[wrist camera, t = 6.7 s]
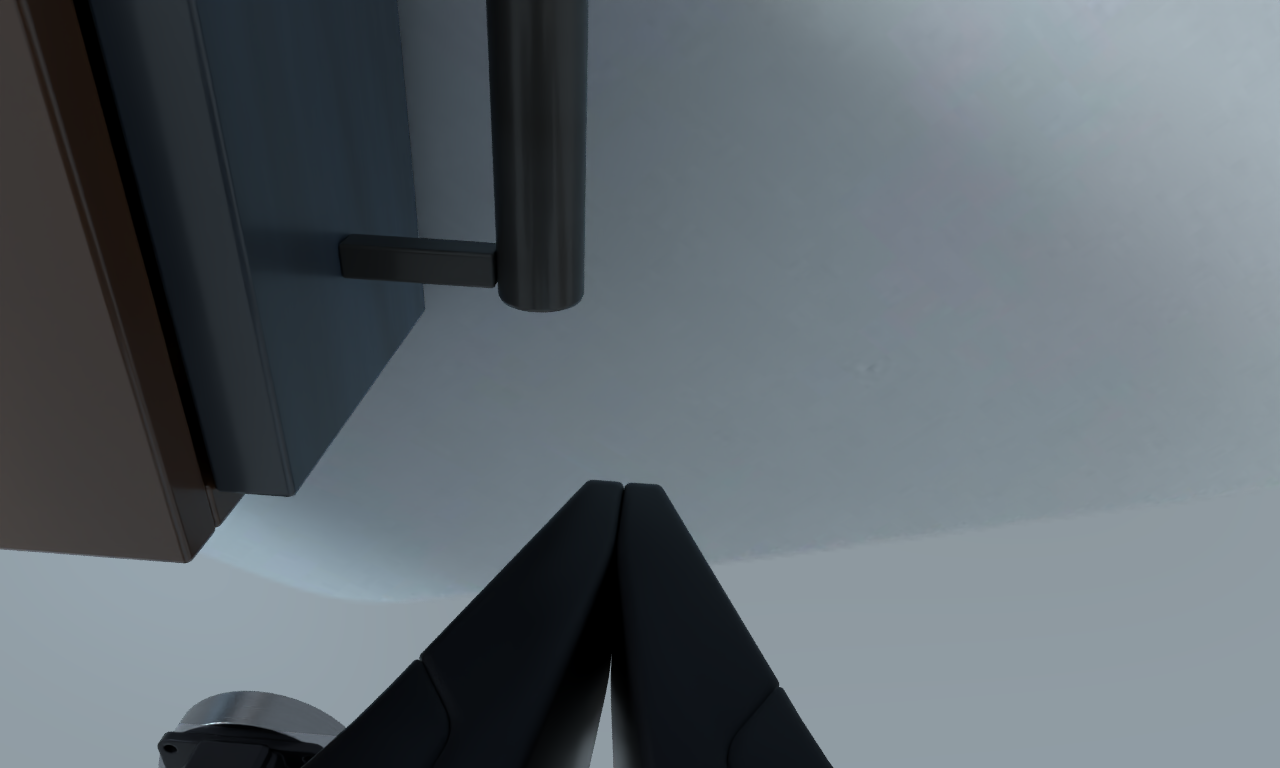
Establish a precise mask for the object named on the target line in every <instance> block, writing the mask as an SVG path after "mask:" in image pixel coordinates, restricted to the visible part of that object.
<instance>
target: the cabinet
mask: <svg viewBox="0 0 1280 768" xmlns="http://www.w3.org/2000/svg"><path fill="white" fill-rule="evenodd" d="M244 495H245V494H244V493H230V492H220V491H218V490H217V489H216V486H215V483H214V479H213V475H212V471H211V467H210V464H209V460H208V456H207V452H206V448H205V445H204V441H203V437H202V433H201V429H200V426H199V422H198V418H197V414H196V410H195V406H194V403H193V399H192V395H191V391H190V387H189V384H188V382H186V383H185V384H184V385H183V386H182V387H181V388H180V389H179V390H178V386H177V382H176V379H175V375H174V371H173V368H172V364H171V360H170V357H169V353H168V349H167V345H166V342H165V338H164V334H163V331H162V327H161V323H160V320H159V316H158V312H157V308H156V305H155V301H154V297H153V294H152V290H151V286H150V283H149V279H148V275H147V272H146V268H145V264H144V260H143V257H142V253H141V249H140V246H139V242H138V238H137V235H136V231H135V227H134V224H133V220H132V216H131V212H130V209H129V205H128V201H127V198H126V194H125V190H124V187H123V183H122V179H121V175H120V172H119V168H118V164H117V161H116V157H115V153H114V150H113V146H112V142H111V139H110V135H109V131H108V127H107V124H106V120H105V116H104V113H103V109H102V105H101V102H100V98H99V94H98V91H97V87H96V83H95V79H94V76H93V72H92V68H91V65H90V61H89V57H88V54H87V50H86V46H85V42H84V39H83V35H82V31H81V28H80V24H79V20H78V17H77V13H76V9H75V6H74V2H73V0H0V549H4V550H17V551H32V552H45V553H57V554H70V555H83V556H96V557H110V558H123V559H137V560H149V561H163V562H175V563H188V562H190V561H191V560H192V559H193V558H194V557H195V556H196V555H197V553H198V552H199V551H200V550H201V548H202V547H203V546H204V545H205V543H206V542H207V541H208V540H209V538H210V537H211V536H212V534H213V533H214V531H215V527H218V526H220V525H221V524H222V523H223V521H224V520H225V519H226V518H227V516H228V515H229V514H230V513H231V511H232V510H233V509H234V508H235V506H236V505H237V504H238V502H239V501H240V500H241V499H242V497H243V496H244Z"/></svg>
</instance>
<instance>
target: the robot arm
mask: <svg viewBox="0 0 1280 768" xmlns="http://www.w3.org/2000/svg"><path fill="white" fill-rule="evenodd" d="M611 656H612V660H611ZM419 659H420V660H414V661H413V662H412V663H411V665H409V666H408V668H407V669H406V670H405V671H404V672H403V673H402V674H401V675H400V676H399V677H398V678H397V679H396V680H395V681H394V682H393V683H392V684H391V685H390V686H389V687H388V688H387V689H386V690H385V691H384V692H383V693H382V694H381V695H380V696H379V697H378V698H377V699H376V700H375V701H374V702H373V703H372V704H371V705H370V706H369V707H368V708H367V709H366V710H365V711H364V712H363V713H362V714H361V715H360V716H359V717H358V718H357V719H356V720H355V721H353V722H352V723H351V724H350V725H349V726H348V727H347V728H345V729H344V730H343V731H342V732H341V733H340V734H339V735H338V736H336V737H335V738H334V739H333V740H332V741H331V742H330V743H328V744H327V745H326V746H325V747H324V748H323V747H322V746H321V745H318V744H315V743H307V742H295V741H283V740H270V739H258V738H246V737H233V736H221V735H209V734H196V733H184V732H167V733H165V734H164V736H163V737H162V739H161V740H160V742H159V743H158V750H159V752H160V755H161V758H162V760H163V763H164V765H165V768H589V766H590V762H591V757H592V753H593V749H594V744H595V740H596V735H597V731H598V726H599V722H600V717H601V713H602V708H603V703H604V699H605V694H606V689H607V684H608V678H609V671H610V663H611V712H612V739H613V765H614V768H833V767H832V765H831V764H830V762H829V761H828V760H827V758H826V757H825V755H824V754H823V752H822V750H821V749H820V747H819V746H818V744H817V743H816V741H815V740H814V738H813V736H812V735H811V733H810V732H809V730H808V729H807V727H806V726H805V724H804V723H803V721H802V720H801V718H800V716H799V715H798V713H797V711H796V709H795V708H794V706H793V704H792V703H791V701H790V699H789V698H788V696H787V694H786V693H785V691H784V690H783V688H781V687H779V682H778V680H777V678H776V677H775V675H774V673H773V672H772V670H771V668H770V667H769V665H768V663H767V662H766V660H765V659H764V657H763V655H762V653H761V651H760V650H759V648H758V646H757V645H756V644H755V641H754V640H753V638H752V637H751V635H750V633H749V631H748V630H747V628H746V627H745V625H744V623H743V621H742V620H741V618H740V616H739V615H738V613H737V611H736V610H735V608H734V606H733V605H732V603H731V601H730V600H729V598H728V596H727V595H726V593H725V592H724V590H723V588H722V586H721V585H720V583H719V581H718V580H717V578H716V576H715V575H714V573H713V571H712V570H711V568H710V566H709V565H708V563H707V561H706V560H705V558H704V556H703V555H702V553H701V551H700V550H699V548H698V546H697V545H696V543H695V541H694V540H693V538H692V536H691V535H690V533H689V531H688V530H687V528H686V526H685V525H684V523H683V521H682V519H681V518H680V516H679V514H678V513H677V511H676V509H675V508H674V506H673V504H672V503H671V501H670V499H669V498H668V496H667V494H666V493H665V491H664V490H663V488H662V487H661V486H660V485H657V484H643V483H628V484H627V485H626V486H625V488H624V486H623V484H622V483H620V482H615V481H601V480H590V481H587V482H586V483H585V484H584V485H583V486H582V487H581V488H580V489H579V490H578V491H577V492H576V493H575V494H574V495H573V496H572V497H571V498H570V499H569V501H568V502H567V503H566V504H565V505H564V506H563V507H562V508H561V509H560V510H559V511H558V512H557V513H556V514H555V515H554V516H553V517H552V518H551V519H550V520H549V521H548V522H547V523H546V524H545V525H544V527H543V528H542V529H541V530H540V531H539V532H538V533H537V534H536V535H535V536H534V537H533V538H532V539H531V540H530V541H529V542H528V543H527V544H526V545H525V546H524V547H523V548H522V549H521V550H520V552H519V553H518V554H517V555H516V556H515V557H514V558H513V559H512V560H511V561H510V562H509V563H508V564H507V565H506V566H505V567H504V568H503V569H502V570H501V571H500V572H499V573H498V574H497V575H496V576H495V578H494V579H493V580H492V581H491V582H490V583H489V584H488V585H487V586H486V587H485V588H484V589H483V590H482V591H481V592H480V593H479V594H478V595H477V596H476V597H475V598H474V599H473V600H472V601H471V603H470V604H469V605H468V606H467V607H466V608H465V609H464V610H463V611H462V612H461V613H460V614H459V615H458V616H457V617H456V618H455V619H454V620H453V621H452V622H451V623H450V624H449V626H447V628H446V629H445V630H444V631H443V632H442V633H441V634H440V635H439V636H438V637H437V638H436V639H435V640H434V641H433V642H432V643H431V644H430V645H429V646H428V647H427V648H426V649H425V651H423V653H421V655H420V657H419Z"/></svg>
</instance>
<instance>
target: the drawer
mask: <svg viewBox="0 0 1280 768" xmlns="http://www.w3.org/2000/svg"><path fill="white" fill-rule="evenodd" d="M73 2H74V6H75V9H76V13H77V17H78V20H79V24H80V28H81V31H82V35H83V39H84V42H85V46H86V50H87V54H88V57H89V61H90V65H91V68H92V72H93V76H94V79H95V83H96V87H97V91H98V94H99V98H100V102H101V105H102V109H103V113H104V116H105V120H106V124H107V127H108V131H109V135H110V139H111V142H112V146H113V150H114V153H115V157H116V161H117V164H118V168H119V172H120V175H121V179H122V183H123V187H124V190H125V194H126V198H127V201H128V205H129V209H130V212H131V216H132V220H133V224H134V227H135V231H136V235H137V238H138V242H139V246H140V249H141V253H142V257H143V260H144V264H145V268H146V272H147V275H148V279H149V283H150V286H151V290H152V294H153V297H154V301H155V305H156V308H157V312H158V316H159V320H160V323H161V327H162V331H163V334H164V338H165V342H166V345H167V349H168V353H169V357H170V360H171V364H172V368H173V371H174V375H175V379H176V382H177V386H178V390H179V389H180V388H181V387H182V386H183V385H184V384H185V383H186V382H188V384H189V387H190V391H191V395H192V399H193V403H194V406H195V410H196V414H197V418H198V422H199V426H200V429H201V433H202V437H203V441H204V445H205V448H206V452H207V456H208V460H209V464H210V467H211V471H212V475H213V479H214V483H215V486H216V489H217V490H218V491H220V492H230V493H244V494H257V495H271V496H284V497H290V496H294V495H295V494H296V493H297V491H298V490H299V488H300V487H301V486H302V484H303V483H304V481H305V480H306V478H307V477H308V476H309V474H310V473H311V471H312V470H313V468H314V467H315V466H316V464H317V463H318V461H319V460H320V459H321V457H322V456H323V454H324V453H325V451H326V450H327V449H328V447H329V446H330V444H331V443H332V441H333V440H334V439H335V437H336V436H337V434H338V433H339V432H340V430H341V429H342V427H343V426H344V424H345V423H346V422H347V420H348V419H349V417H350V416H351V414H352V413H353V412H354V410H355V409H356V407H357V406H358V405H359V403H360V402H361V400H362V399H363V397H364V396H365V395H366V393H367V392H368V390H369V389H370V387H371V386H372V385H373V383H374V382H375V380H376V379H377V378H378V376H379V375H380V373H381V372H382V370H383V369H384V368H385V366H386V365H387V363H388V362H389V360H390V359H391V358H392V356H393V355H394V353H395V352H396V351H397V349H398V348H399V346H400V345H401V343H402V342H403V341H404V339H405V338H406V336H407V335H408V333H409V332H410V331H411V329H412V328H413V326H414V325H415V324H416V322H417V321H418V319H419V318H420V316H421V315H422V314H423V312H424V310H425V301H424V290H423V284H438V285H453V286H468V287H483V288H493V287H495V285H496V283H497V282H498V294H499V297H500V298H501V300H502V301H503V302H504V303H505V304H506V305H508V306H510V307H512V308H515V309H518V310H522V311H528V312H554V311H560V310H564V309H568V308H571V307H573V306H575V305H576V304H578V303H579V302H580V301H581V299H582V297H583V295H584V255H585V189H586V124H587V58H588V0H486V12H487V36H488V60H489V84H490V108H491V132H492V156H493V181H494V205H495V229H496V243H489V242H473V241H458V240H443V239H428V238H419V235H418V224H417V213H416V202H415V191H414V180H413V169H412V158H411V147H410V136H409V125H408V114H407V103H406V92H405V81H404V70H403V59H402V48H401V37H400V26H399V15H398V4H397V0H73Z"/></svg>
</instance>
